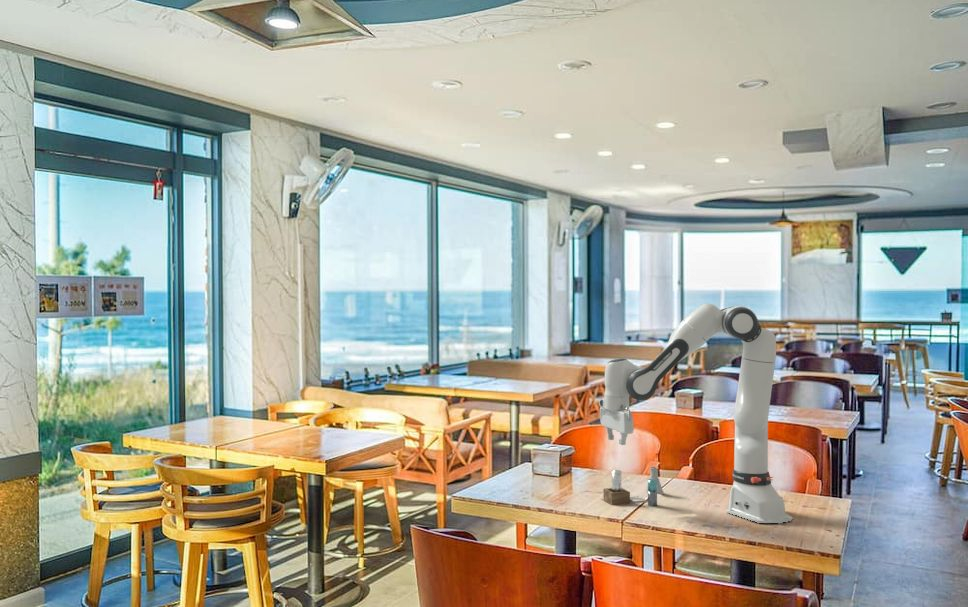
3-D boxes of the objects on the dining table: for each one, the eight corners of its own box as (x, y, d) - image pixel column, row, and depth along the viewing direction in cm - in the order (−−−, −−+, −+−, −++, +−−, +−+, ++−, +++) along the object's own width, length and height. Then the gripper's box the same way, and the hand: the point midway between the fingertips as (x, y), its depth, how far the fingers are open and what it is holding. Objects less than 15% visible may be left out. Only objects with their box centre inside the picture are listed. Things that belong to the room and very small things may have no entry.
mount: (649, 504, 271) (649, 490, 271) (611, 508, 267) (611, 494, 267) (638, 499, 279) (638, 485, 279) (601, 502, 275) (601, 488, 275)
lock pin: (623, 502, 271) (623, 471, 271) (614, 503, 270) (614, 472, 270) (618, 499, 274) (618, 469, 274) (610, 500, 273) (610, 470, 273)
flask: (662, 491, 289) (662, 465, 289) (665, 496, 282) (665, 470, 282) (643, 491, 290) (643, 465, 290) (645, 496, 283) (645, 469, 283)
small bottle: (658, 508, 266) (658, 480, 266) (650, 509, 265) (650, 481, 265) (654, 506, 269) (654, 478, 269) (646, 507, 268) (646, 479, 268)
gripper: (638, 407, 263) (638, 447, 263) (612, 399, 282) (612, 436, 282) (621, 408, 261) (621, 448, 261) (596, 400, 280) (596, 437, 281)
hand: (616, 442), depth 272 cm, fingers open, 8 cm apart
